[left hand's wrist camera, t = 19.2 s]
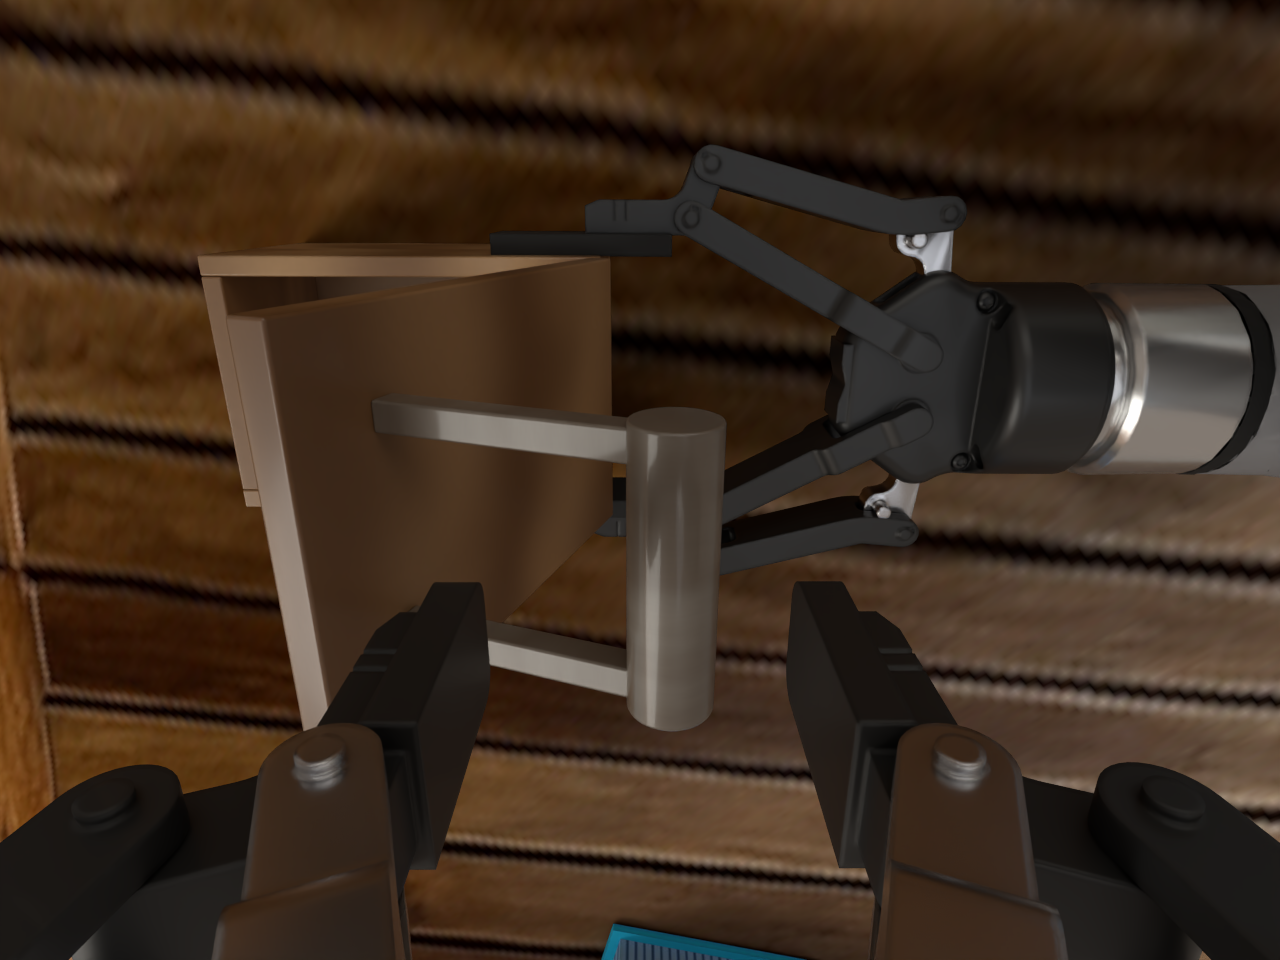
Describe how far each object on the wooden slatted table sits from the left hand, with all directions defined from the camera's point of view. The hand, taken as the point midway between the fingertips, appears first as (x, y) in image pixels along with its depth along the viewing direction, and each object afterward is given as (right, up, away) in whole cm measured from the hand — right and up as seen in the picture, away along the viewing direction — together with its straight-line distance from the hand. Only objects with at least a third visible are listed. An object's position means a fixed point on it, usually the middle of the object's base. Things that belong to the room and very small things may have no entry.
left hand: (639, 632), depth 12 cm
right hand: (-5, +7, +17) cm, 19 cm away
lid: (-4, +3, +8) cm, 10 cm away
